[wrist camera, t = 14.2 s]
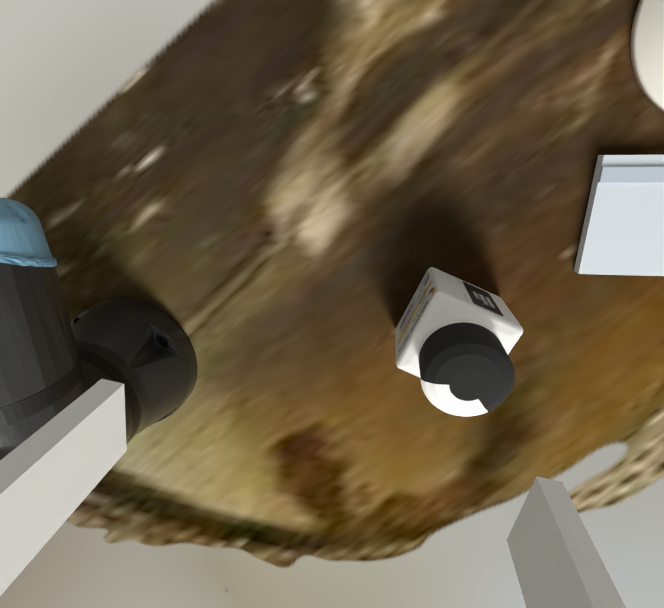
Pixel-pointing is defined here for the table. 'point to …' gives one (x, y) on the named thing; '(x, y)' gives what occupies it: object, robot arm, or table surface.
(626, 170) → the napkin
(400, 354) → the container
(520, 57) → the table surface
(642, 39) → the saucer
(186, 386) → the robot arm
